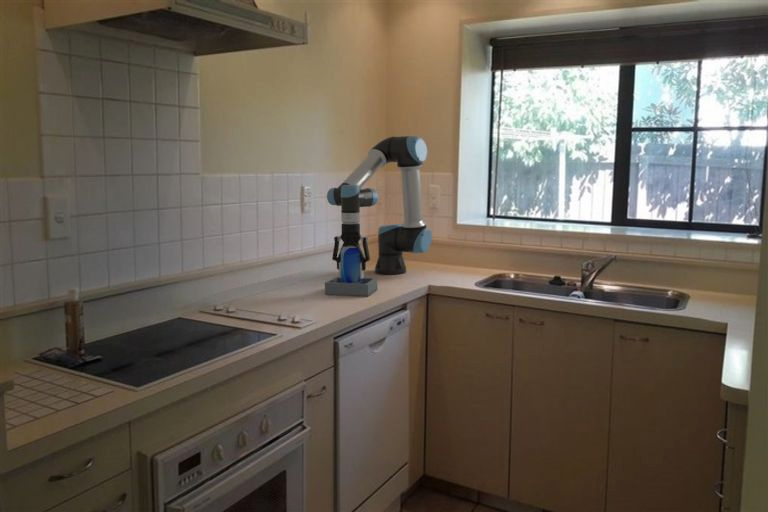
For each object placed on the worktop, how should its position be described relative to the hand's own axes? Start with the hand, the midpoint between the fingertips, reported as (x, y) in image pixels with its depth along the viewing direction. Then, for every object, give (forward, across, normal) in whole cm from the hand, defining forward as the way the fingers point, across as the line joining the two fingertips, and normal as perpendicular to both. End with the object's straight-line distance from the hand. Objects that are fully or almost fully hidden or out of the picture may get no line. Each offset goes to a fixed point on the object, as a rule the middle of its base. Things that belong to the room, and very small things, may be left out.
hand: (351, 277), depth 271 cm
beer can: (+3, 0, 0) cm, 3 cm away
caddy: (+6, 0, 0) cm, 6 cm away
